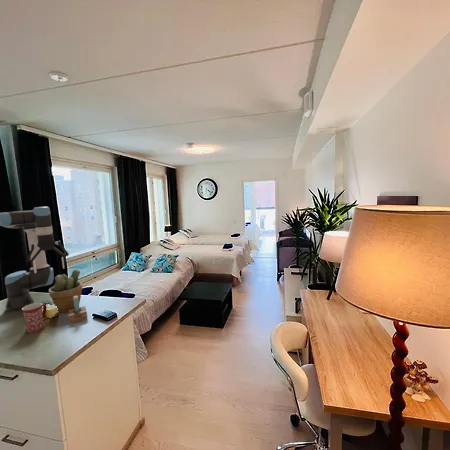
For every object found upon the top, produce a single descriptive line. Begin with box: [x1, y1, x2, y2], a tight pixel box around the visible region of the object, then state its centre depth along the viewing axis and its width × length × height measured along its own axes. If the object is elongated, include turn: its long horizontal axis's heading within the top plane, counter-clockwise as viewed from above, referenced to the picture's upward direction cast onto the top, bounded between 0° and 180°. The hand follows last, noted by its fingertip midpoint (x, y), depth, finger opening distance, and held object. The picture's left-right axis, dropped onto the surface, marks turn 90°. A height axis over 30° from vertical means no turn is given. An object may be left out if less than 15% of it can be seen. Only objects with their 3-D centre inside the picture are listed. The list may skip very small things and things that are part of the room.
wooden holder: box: [68, 305, 88, 325], centre depth 153 cm, size 9×9×5 cm
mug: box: [21, 302, 47, 333], centre depth 144 cm, size 13×9×14 cm
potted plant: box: [48, 269, 83, 314], centre depth 165 cm, size 18×19×25 cm
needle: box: [73, 296, 80, 313], centre depth 152 cm, size 2×2×14 cm
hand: (50, 270), depth 148 cm, fingers open, 13 cm apart
